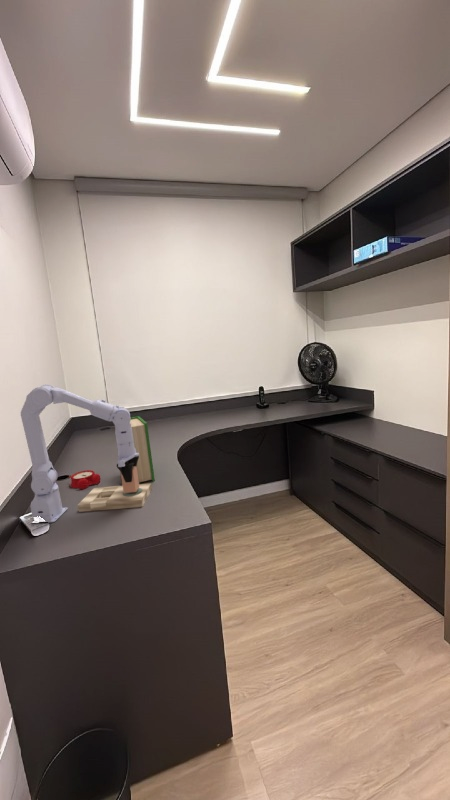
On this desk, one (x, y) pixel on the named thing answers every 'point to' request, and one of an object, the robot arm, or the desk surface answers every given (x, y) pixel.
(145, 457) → the hardback book
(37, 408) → the robot arm
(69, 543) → the desk surface
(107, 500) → the pocket board
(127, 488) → the peg
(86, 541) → the desk surface
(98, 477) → the alarm clock
